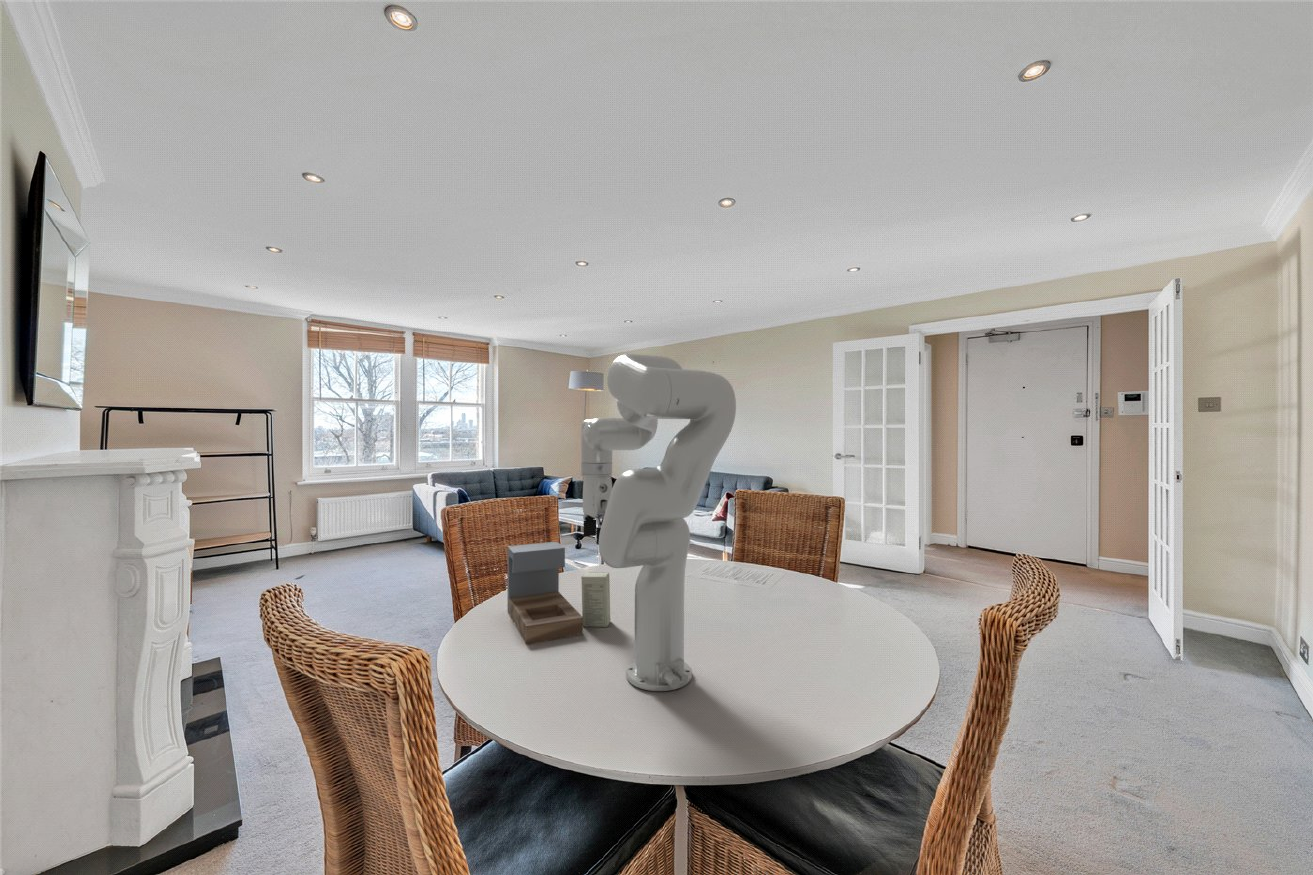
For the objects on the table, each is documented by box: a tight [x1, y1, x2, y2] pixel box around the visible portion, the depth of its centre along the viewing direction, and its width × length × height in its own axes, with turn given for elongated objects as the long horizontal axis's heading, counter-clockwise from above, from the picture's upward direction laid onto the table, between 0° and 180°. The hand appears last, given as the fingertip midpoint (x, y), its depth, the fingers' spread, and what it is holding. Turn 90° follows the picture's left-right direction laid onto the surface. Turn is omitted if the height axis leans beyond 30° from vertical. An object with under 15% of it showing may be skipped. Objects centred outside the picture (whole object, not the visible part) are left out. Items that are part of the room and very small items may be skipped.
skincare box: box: [580, 571, 611, 628], centre depth 129 cm, size 6×4×12 cm
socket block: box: [508, 591, 584, 645], centre depth 129 cm, size 21×13×4 cm, turn 26°
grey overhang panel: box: [506, 541, 566, 614], centre depth 136 cm, size 8×13×17 cm, turn 116°
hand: (596, 539), depth 128 cm, fingers open, 9 cm apart
